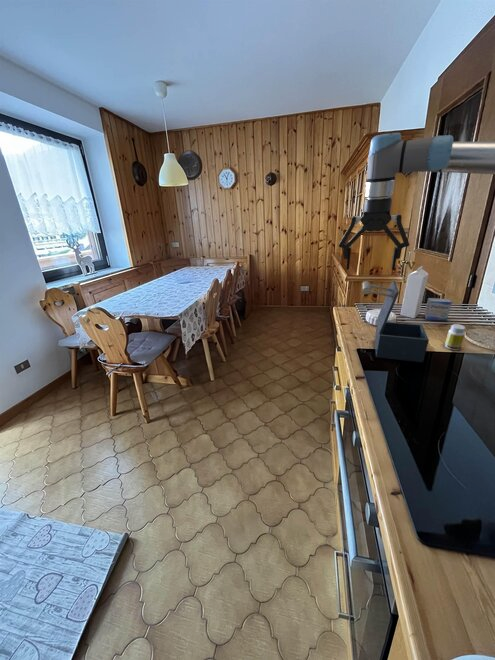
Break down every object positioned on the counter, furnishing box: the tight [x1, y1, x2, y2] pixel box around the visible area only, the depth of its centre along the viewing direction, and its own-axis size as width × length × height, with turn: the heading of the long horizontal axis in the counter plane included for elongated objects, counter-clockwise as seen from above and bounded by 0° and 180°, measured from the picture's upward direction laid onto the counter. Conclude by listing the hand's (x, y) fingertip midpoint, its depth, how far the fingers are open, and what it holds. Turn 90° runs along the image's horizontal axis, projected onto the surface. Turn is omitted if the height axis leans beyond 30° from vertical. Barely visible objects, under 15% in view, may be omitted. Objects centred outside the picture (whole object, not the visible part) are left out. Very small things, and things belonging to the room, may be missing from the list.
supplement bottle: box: [444, 323, 466, 351], centre depth 101 cm, size 5×5×8 cm
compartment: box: [374, 321, 430, 363], centre depth 101 cm, size 15×12×9 cm
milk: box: [399, 265, 429, 319], centre depth 123 cm, size 6×6×22 cm
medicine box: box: [423, 297, 453, 322], centre depth 122 cm, size 8×4×9 cm, turn 73°
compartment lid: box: [361, 280, 400, 334], centre depth 98 cm, size 16×12×10 cm
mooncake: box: [365, 308, 397, 327], centre depth 124 cm, size 12×12×4 cm
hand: (369, 268), depth 93 cm, fingers open, 13 cm apart
